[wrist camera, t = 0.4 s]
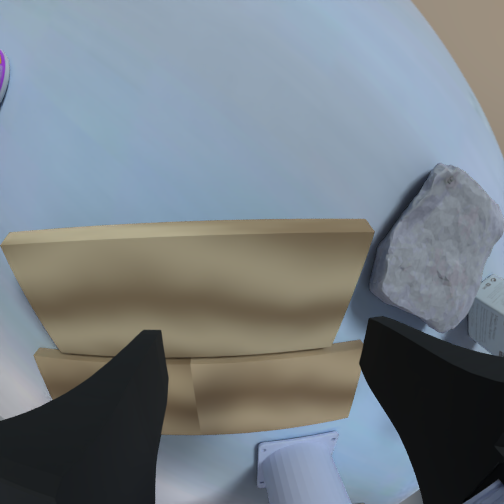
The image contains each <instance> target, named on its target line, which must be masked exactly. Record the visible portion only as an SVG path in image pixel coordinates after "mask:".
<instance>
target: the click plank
mask: <svg viewBox="0 0 504 504" xmlns="http://www.w3.org/2000/svg"><path fill="white" fill-rule="evenodd" d="M374 233H375V232H374V230H373V229H372V227H371V226H370V225H369V223H368V222H367V220H366V219H256V220H215V221H185V222H160V223H139V224H120V225H102V226H86V227H72V228H58V229H45V230H32V231H21V232H10V233H9V234H8V235H7V237H6V238H5V239H4V241H3V242H2V244H1V245H0V246H1V248H2V250H3V252H4V255H5V257H6V259H7V261H8V263H9V265H10V267H11V269H12V271H13V273H14V275H15V277H16V279H17V281H18V283H19V285H20V287H21V288H22V290H23V292H24V294H25V296H26V298H27V299H28V301H29V303H30V304H31V306H32V308H33V310H34V311H35V313H36V315H37V316H38V318H39V320H40V321H41V323H42V324H43V326H44V327H45V329H46V331H47V332H48V334H49V335H50V337H51V338H52V340H53V341H54V343H55V344H56V346H57V347H58V348H59V350H60V351H61V352H62V353H72V354H85V355H100V356H116V355H117V354H118V353H119V352H120V351H121V350H122V349H123V348H124V347H126V346H127V345H128V344H129V343H130V342H131V341H132V340H133V339H134V338H135V337H136V336H137V335H138V334H139V333H140V332H141V331H143V330H161V332H162V339H163V346H164V352H165V358H172V357H217V356H237V355H253V354H266V353H278V352H289V351H298V350H307V349H316V348H324V347H331V346H332V343H333V341H334V339H335V336H336V334H337V332H338V329H339V327H340V325H341V322H342V320H343V317H344V315H345V313H346V310H347V308H348V305H349V303H350V300H351V297H352V295H353V292H354V290H355V287H356V284H357V282H358V279H359V276H360V274H361V271H362V268H363V265H364V262H365V260H366V257H367V254H368V251H369V248H370V245H371V242H372V239H373V236H374Z"/></svg>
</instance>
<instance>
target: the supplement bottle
mask: <svg viewBox="0 0 504 504" xmlns="http://www.w3.org/2000/svg"><path fill="white" fill-rule="evenodd" d="M9 75H10V65H9V60H8V57H7V55H6V54H5V53H4V52H3V51H2V50H1V49H0V103H1V101H2V99H3V97H4V95H5V92H6V89H7V86H8V82H9Z"/></svg>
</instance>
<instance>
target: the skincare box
mask: <svg viewBox="0 0 504 504" xmlns="http://www.w3.org/2000/svg"><path fill="white" fill-rule="evenodd" d="M468 332H469V336H470V337H471V338H472V339H473V340H474V341H476V342H477V343H478V344H480V345H481V346H482V347H483V348H485V349H486V350H487V351H488V352H490V353H491V354H492V355H495V356H501V357H504V279H503V278H501V277H499V276H497V275H495V274H492V275H491V276H489V277H488V278H486V279H485V280H484V281H483V282H481V285H480V288H479V290H478V292H477V295H476V297H475V299H474V301H473V304H472V306H471V308H470V310H469V312H468Z"/></svg>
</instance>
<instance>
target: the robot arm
mask: <svg viewBox="0 0 504 504" xmlns="http://www.w3.org/2000/svg"><path fill="white" fill-rule="evenodd" d="M359 365H360V367H361V370H362V372H363V375H364V377H365V379H366V381H367V383H368V385H369V387H370V389H371V390H372V392H373V393H374V395H375V397H376V398H377V400H378V401H379V403H380V405H381V406H382V408H383V409H384V411H385V412H386V414H387V416H388V417H389V419H390V420H391V422H392V423H393V425H394V427H395V428H396V430H397V432H398V434H399V436H400V438H401V440H402V442H403V445H404V447H405V449H406V451H407V454H408V456H409V459H410V461H411V464H412V467H413V469H414V472H415V475H416V478H417V481H418V485H419V488H420V491H421V495H422V499H423V504H504V357H501V356H495V355H489V354H485V353H480V352H477V351H473V350H469V349H466V348H463V347H459V346H456V345H454V344H451V343H448V342H446V341H443V340H440V339H438V338H435V337H433V336H431V335H428V334H426V333H424V332H421V331H419V330H417V329H414V328H412V327H410V326H407V325H405V324H403V323H400V322H398V321H395V320H393V319H390V318H387V317H383V316H382V317H374V318H369V320H368V325H367V330H366V335H365V339H364V344H363V348H362V353H361V357H360V361H359ZM168 383H169V376H168V371H167V365H166V358H165V352H164V346H163V339H162V332H161V330H143V331H141V332H140V333H139V334H138V335H137V336H136V337H135V338H134V339H133V340H132V341H131V342H130V343H129V344H128V345H127V346H126V347H124V348H123V349H122V350H121V351H120V352H119V353H118V354H117V355H116V356H115V357H114V358H112V359H111V360H110V361H109V362H108V363H107V364H105V365H104V366H103V367H102V368H100V369H99V370H98V371H97V372H96V373H94V374H93V375H92V376H91V377H89V378H88V379H86V380H85V381H84V382H82V383H81V384H79V385H78V386H76V387H75V388H73V389H71V390H70V391H68V392H67V393H65V394H63V395H61V396H59V397H58V398H56V399H54V400H52V401H50V402H48V403H46V404H44V405H42V406H40V407H38V408H35V409H33V410H31V411H28V412H26V413H23V414H20V415H18V416H15V417H12V418H9V419H5V420H2V421H0V504H155V478H156V462H157V454H158V448H159V443H160V437H161V432H162V427H163V422H164V417H165V411H166V406H167V398H168ZM338 436H339V434H338V432H337V431H333V432H328V433H323V434H317V435H312V436H306V437H300V438H293V439H286V440H279V441H271V442H262V443H260V444H259V445H258V467H257V487H258V488H266V489H267V494H268V499H269V504H352V503H351V501H350V499H349V496H348V494H347V491H346V489H345V487H344V484H343V482H342V479H341V477H340V474H339V472H338V470H337V467H336V465H335V462H334V460H333V457H332V454H333V451H334V448H335V445H336V442H337V439H338Z"/></svg>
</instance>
